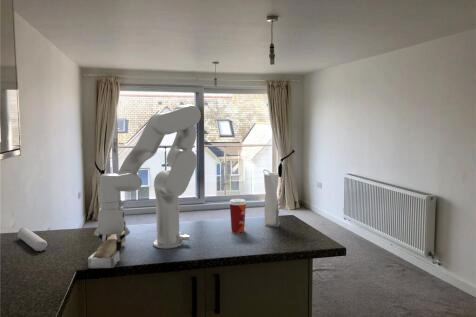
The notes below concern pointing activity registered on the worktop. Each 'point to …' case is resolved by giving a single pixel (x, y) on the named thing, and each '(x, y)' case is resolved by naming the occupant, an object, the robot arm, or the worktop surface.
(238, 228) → the coffee cup
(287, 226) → the worktop surface
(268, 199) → the white bottle gift bag
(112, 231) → the robot arm
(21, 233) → the tube
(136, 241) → the worktop surface
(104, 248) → the maple rail
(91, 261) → the cup bracket
